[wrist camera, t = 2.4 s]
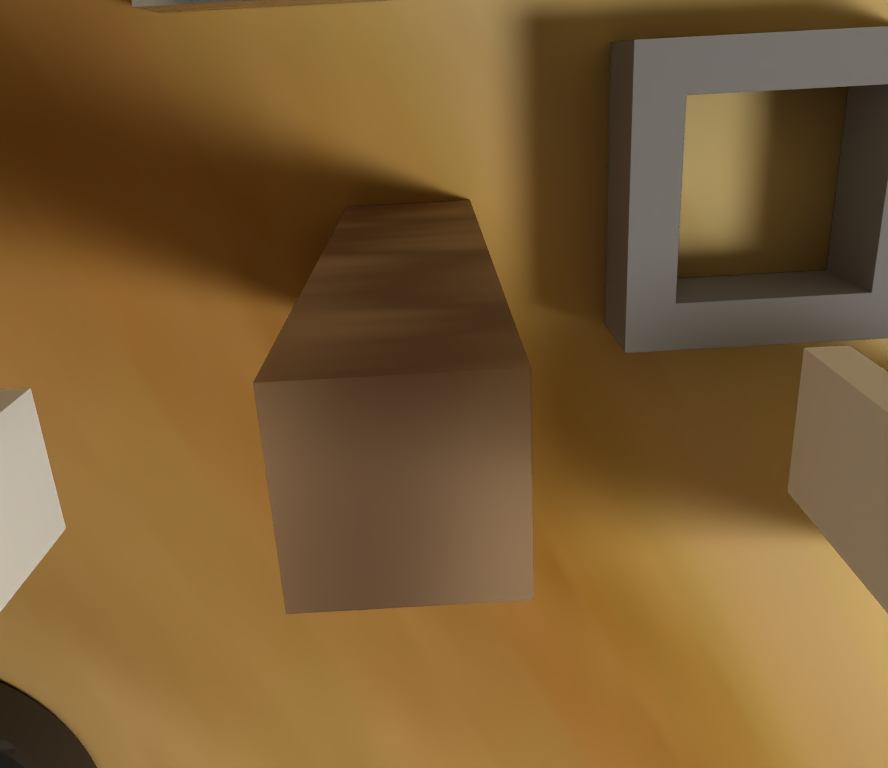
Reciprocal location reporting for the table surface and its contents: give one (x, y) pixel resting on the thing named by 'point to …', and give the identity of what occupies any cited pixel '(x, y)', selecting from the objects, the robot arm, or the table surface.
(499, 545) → the walnut rod
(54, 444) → the table surface
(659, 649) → the table surface
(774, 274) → the gray square frame
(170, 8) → the gray open frame box
